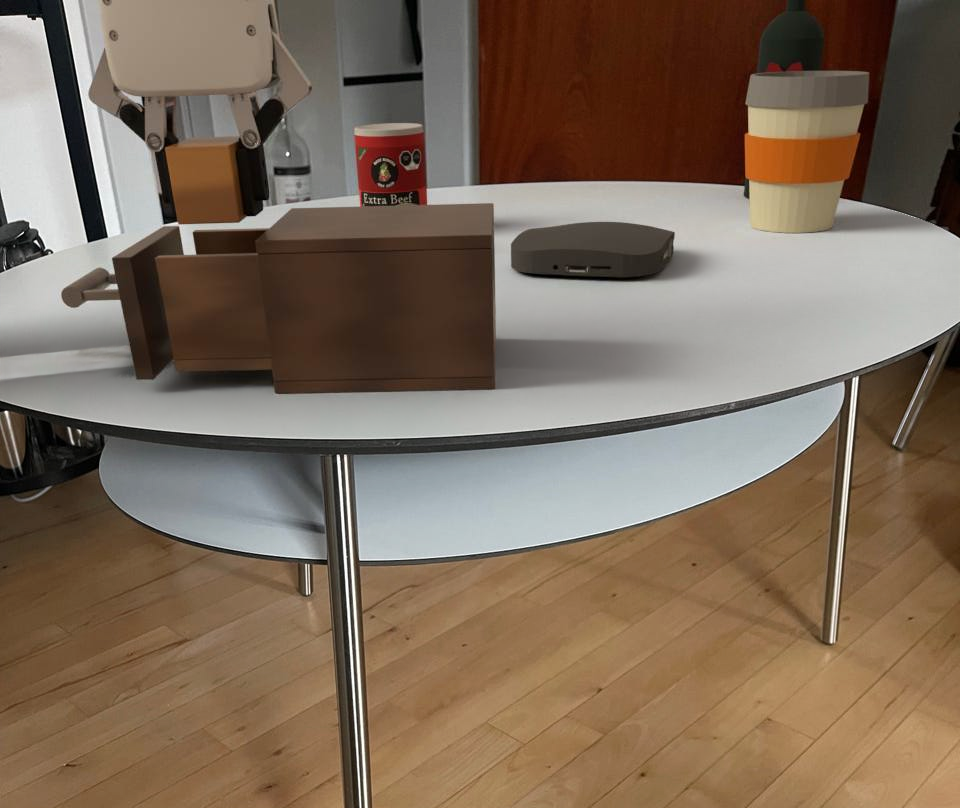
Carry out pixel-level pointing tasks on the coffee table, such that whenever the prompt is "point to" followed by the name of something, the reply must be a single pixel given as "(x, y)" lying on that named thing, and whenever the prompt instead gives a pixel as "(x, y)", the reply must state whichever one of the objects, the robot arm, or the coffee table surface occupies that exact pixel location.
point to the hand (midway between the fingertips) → (219, 211)
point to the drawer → (186, 301)
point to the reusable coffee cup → (801, 146)
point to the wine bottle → (790, 45)
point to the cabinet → (380, 298)
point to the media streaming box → (593, 250)
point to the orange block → (206, 180)
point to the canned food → (391, 164)
